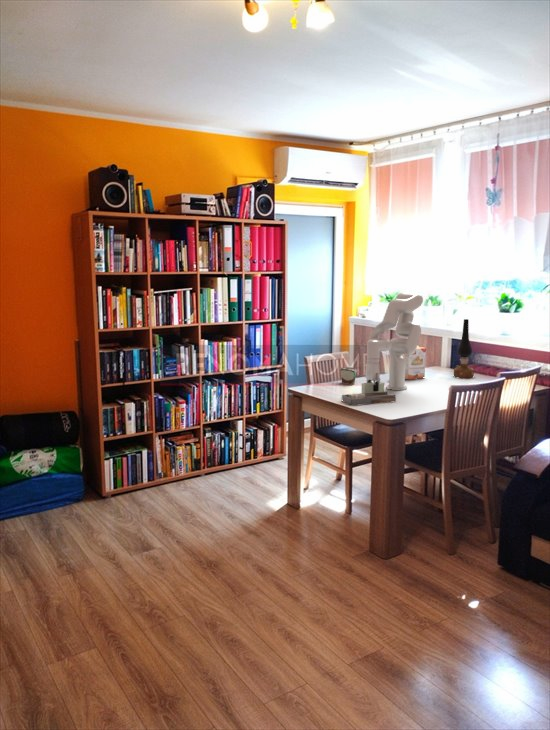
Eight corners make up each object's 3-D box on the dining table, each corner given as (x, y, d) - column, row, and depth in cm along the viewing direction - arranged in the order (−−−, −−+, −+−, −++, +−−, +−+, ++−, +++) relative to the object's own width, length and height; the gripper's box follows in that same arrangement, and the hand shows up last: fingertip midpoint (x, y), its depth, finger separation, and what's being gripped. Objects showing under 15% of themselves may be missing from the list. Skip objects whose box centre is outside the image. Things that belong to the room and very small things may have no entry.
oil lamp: (475, 383, 399) (491, 326, 388) (453, 379, 399) (469, 322, 387) (469, 376, 412) (485, 321, 401) (448, 373, 412) (463, 317, 400)
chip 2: (355, 400, 335) (355, 393, 335) (361, 400, 337) (362, 393, 336) (358, 402, 332) (358, 395, 331) (365, 401, 333) (365, 394, 332)
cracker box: (408, 380, 394) (409, 349, 391) (402, 378, 400) (403, 348, 396) (425, 378, 400) (426, 347, 396) (419, 376, 405) (420, 346, 402)
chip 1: (355, 400, 336) (348, 401, 334) (355, 393, 335) (348, 394, 334) (358, 402, 332) (351, 402, 331) (358, 395, 331) (352, 395, 330)
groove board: (363, 399, 341) (363, 393, 340) (386, 397, 345) (386, 391, 345) (371, 403, 330) (372, 397, 330) (395, 401, 335) (395, 395, 334)
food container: (360, 383, 384) (360, 368, 382) (354, 385, 380) (354, 369, 378) (346, 381, 393) (346, 366, 391) (339, 382, 389) (340, 367, 387)
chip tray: (342, 400, 337) (342, 394, 337) (362, 399, 341) (362, 393, 340) (351, 405, 326) (351, 399, 325) (371, 403, 330) (371, 397, 329)
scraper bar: (361, 394, 353) (361, 383, 352) (380, 393, 357) (381, 381, 356) (364, 396, 349) (364, 384, 348) (384, 394, 353) (384, 382, 352)
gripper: (360, 358, 357) (360, 387, 360) (374, 363, 340) (373, 393, 343) (372, 358, 359) (371, 386, 362) (386, 362, 343) (385, 392, 346)
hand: (372, 389), depth 353 cm, fingers open, 7 cm apart
